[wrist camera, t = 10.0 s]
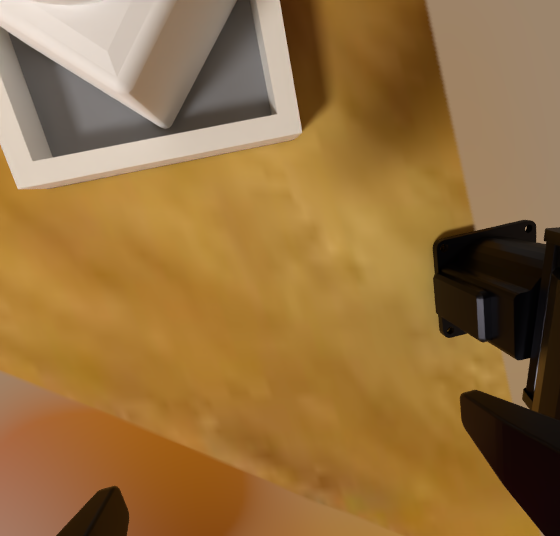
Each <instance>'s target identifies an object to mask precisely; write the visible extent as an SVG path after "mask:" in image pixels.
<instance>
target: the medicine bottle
mask: <svg viewBox="0 0 560 536" xmlns="http://www.w3.org/2000/svg"><path fill="white" fill-rule="evenodd" d="M236 2H237V0H0V26H1V27H2V28H4V29H5V30H7V31H8V32H9V33H11V34H12V35H14V36H15V37H17V38H18V39H20V40H21V41H23V42H24V43H26V44H27V45H29V46H30V47H32V48H34V49H35V50H37V51H38V52H40V53H42V54H43V55H45V56H46V57H48V58H50V59H51V60H53V61H54V62H56V63H58V64H59V65H61V66H63V67H64V68H66V69H67V70H69V71H71V72H72V73H74V74H75V75H77V76H79V77H80V78H82V79H83V80H85V81H87V82H88V83H90V84H92V85H93V86H95V87H96V88H98V89H100V90H101V91H103V92H104V93H106V94H108V95H109V96H111V97H112V98H114V99H116V100H117V101H119V102H121V103H122V104H124V105H125V106H127V107H129V108H130V109H132V110H133V111H135V112H137V113H138V114H140V115H141V116H143V117H145V118H146V119H148V120H150V121H151V122H153V123H154V124H156V125H158V126H159V127H161V128H164V129H167V128H170V127H171V126H172V124H173V122H174V120H175V118H176V116H177V114H178V113H179V111H180V109H181V107H182V105H183V103H184V101H185V99H186V97H187V95H188V93H189V92H190V90H191V88H192V86H193V84H194V82H195V80H196V78H197V76H198V74H199V72H200V70H201V69H202V67H203V65H204V63H205V61H206V59H207V57H208V55H209V53H210V51H211V49H212V47H213V46H214V44H215V42H216V40H217V38H218V36H219V34H220V32H221V30H222V28H223V26H224V25H225V23H226V21H227V19H228V17H229V15H230V13H231V11H232V9H233V7H234V5H235V3H236Z"/></svg>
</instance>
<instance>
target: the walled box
mask: <svg viewBox="0 0 560 536" xmlns="http://www.w3.org/2000/svg"><path fill="white" fill-rule="evenodd" d="M301 133H302V128H301V122H300V117H299V111H298V105H297V99H296V93H295V87H294V82H293V76H292V70H291V64H290V58H289V52H288V46H287V41H286V35H285V29H284V23H283V17H282V11H281V5H280V0H237V2H236V3H235V5H234V7H233V9H232V11H231V13H230V15H229V17H228V19H227V21H226V23H225V25H224V26H223V28H222V30H221V32H220V34H219V36H218V38H217V40H216V42H215V44H214V46H213V47H212V49H211V51H210V53H209V55H208V57H207V59H206V61H205V63H204V65H203V67H202V69H201V70H200V72H199V74H198V76H197V78H196V80H195V82H194V84H193V86H192V88H191V90H190V92H189V93H188V95H187V97H186V99H185V101H184V103H183V105H182V107H181V109H180V111H179V113H178V114H177V116H176V118H175V120H174V122H173V124H172V126H171V127H170V128H167V129H164V128H161V127H159V126H158V125H156V124H154V123H153V122H151V121H150V120H148V119H146V118H145V117H143V116H141V115H140V114H138V113H137V112H135V111H133V110H132V109H130V108H129V107H127V106H125V105H124V104H122V103H121V102H119V101H117V100H116V99H114V98H112V97H111V96H109V95H108V94H106V93H104V92H103V91H101V90H100V89H98V88H96V87H95V86H93V85H92V84H90V83H88V82H87V81H85V80H83V79H82V78H80V77H79V76H77V75H75V74H74V73H72V72H71V71H69V70H67V69H66V68H64V67H63V66H61V65H59V64H58V63H56V62H54V61H53V60H51V59H50V58H48V57H46V56H45V55H43V54H42V53H40V52H38V51H37V50H35V49H34V48H32V47H30V46H29V45H27V44H26V43H24V42H23V41H21V40H20V39H18V38H17V37H15V36H14V35H12V34H11V33H9V32H8V31H7V30H5V29H4V28H2V27H1V26H0V144H1V147H2V149H3V152H4V155H5V157H6V160H7V162H8V165H9V167H10V170H11V172H12V175H13V177H14V180H15V183H16V185H17V188H18V189H50V188H55V187H60V186H65V185H70V184H75V183H80V182H85V181H90V180H95V179H100V178H105V177H110V176H115V175H120V174H125V173H130V172H135V171H140V170H145V169H150V168H155V167H160V166H165V165H170V164H175V163H180V162H185V161H190V160H195V159H200V158H205V157H210V156H215V155H220V154H225V153H230V152H235V151H240V150H245V149H250V148H255V147H260V146H265V145H270V144H275V143H280V142H285V141H290V140H294V139H295V138H296V137H298V136H299V135H300V134H301Z"/></svg>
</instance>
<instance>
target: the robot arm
mask: <svg viewBox="0 0 560 536" xmlns="http://www.w3.org/2000/svg"><path fill="white" fill-rule="evenodd" d="M526 226H527V229H526V231H525V227H526ZM544 241H546V244H541V243H536V224H535V223H534V222H533V221H530V220H521V221H517V222H513V223H508V224H504V225H500V226H496V227H491V228H486V229H482V230H478V231H473V232H469V233H465V234H460V235H456V236H451V237H447V238H443V239H439V240H437V241H436V242H435V243H434V245H433V257H434V269H435V275H434V277H433V282H434V293H435V305H436V313H437V314H438V317H439V329H440V333H441V334H443V335H444V336H445V337H448V338H451V337H455V336H459V335H463V334H467V333H468V334H470V335H471V336H473V337H474V338H476V339H477V340H479V341H481V342H489V343H491V344H492V345H494V346H495V347H497V348H499V349H500V350H502V351H504V352H505V353H507V354H509V355H510V356H512V357H513V358H515V359H517V360H523V359H527V358H530V365H529V372H528V379H527V386H526V388H524V389H523V397H522V399H523V401H524V402H525V403H526V405H527V406H528V408H529V409H527V408H524V407H522V406H519V405H516V404H513V403H511V402H508V401H505V400H503V399H500V398H497V397H494V396H492V395H489V394H486V393H484V392H481V391H478V390H472V391H469V392H465V393H462V394H461V396H460V406H461V419H462V423H463V426H464V428H465V429H466V431H467V432H468V434H469V435H470V437H471V438H472V440H473V441H474V443H475V444H476V446H477V447H478V449H479V450H480V451H481V453H482V454H483V456H484V457H485V459H486V460H487V462H488V463H489V465H490V466H491V468H492V469H493V471H494V472H495V474H496V475H497V476H498V478H499V479H500V481H501V482H502V483H503V485H504V486H505V487H506V489H507V490H508V491H509V493H510V494H511V495H512V496H513V498H514V499H515V500H516V501H517V502H518V504H519V505H520V506H521V507H522V509H523V510H524V511H525V512H526V513H527V515H528V516H529V517H530V518H531V520H532V521H533V522H534V523H535V524H536V526H537V527H538V528H539V529H540V531H541V532H542V533H543V534H544V535H545V536H560V227H559V228H547V229H545V235H544ZM443 244H444V249H443V250H442V251H441V250H440V248H441V246H442V245H443ZM449 327H450V330H449V331H447V329H448V328H449ZM128 523H129V512H128V508H127V506H126V504H125V501H124V499H123V496H122V494H121V491H120V489H119V488H118V487H117V486H112V487H108V488H104V489H101V490H99V491H98V492H97V493H96V494H95V495H94V496H93V497H92V498H91V499H90V500H89V501H88V502H87V503H86V504H85V506H84V507H83V508H82V509H81V510H80V511H79V512H78V513H77V514H76V515H75V516H74V517H73V518H72V519H71V520H70V521H69V522H68V524H67V525H66V526H65V527H64V528H63V529H62V530H61V531H60V532H59V533H58V534H57V535H56V536H127V530H128Z"/></svg>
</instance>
